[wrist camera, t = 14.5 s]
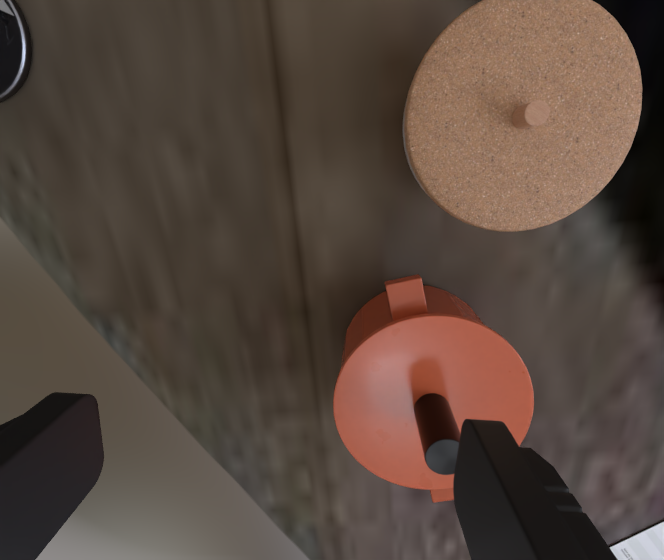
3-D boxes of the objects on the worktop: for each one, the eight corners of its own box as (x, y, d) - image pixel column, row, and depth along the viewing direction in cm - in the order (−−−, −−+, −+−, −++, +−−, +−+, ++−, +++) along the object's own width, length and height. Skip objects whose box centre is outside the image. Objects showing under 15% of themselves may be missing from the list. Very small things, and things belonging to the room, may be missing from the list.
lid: (357, 490, 31) (357, 563, 25) (313, 332, 28) (301, 374, 22) (538, 463, 29) (581, 534, 23) (514, 290, 26) (558, 325, 20)
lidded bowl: (491, 244, 33) (553, 280, 22) (361, 160, 32) (362, 156, 21) (598, 101, 30) (731, 64, 19) (457, 2, 29) (516, -96, 18)
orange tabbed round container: (366, 445, 39) (368, 519, 31) (321, 272, 35) (310, 304, 26) (497, 424, 37) (536, 496, 29) (468, 239, 33) (504, 263, 25)
